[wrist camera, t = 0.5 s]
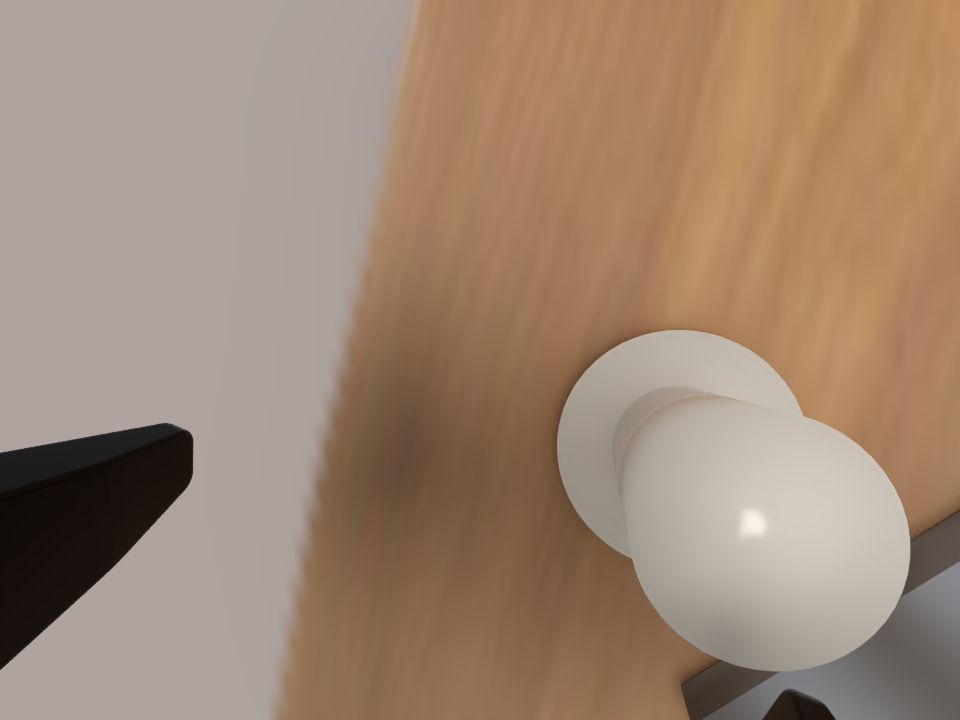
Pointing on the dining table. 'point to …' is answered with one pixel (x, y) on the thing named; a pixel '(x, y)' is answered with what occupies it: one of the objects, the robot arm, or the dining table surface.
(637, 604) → the dining table surface
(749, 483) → the cream cylindrical piece
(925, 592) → the grey block
